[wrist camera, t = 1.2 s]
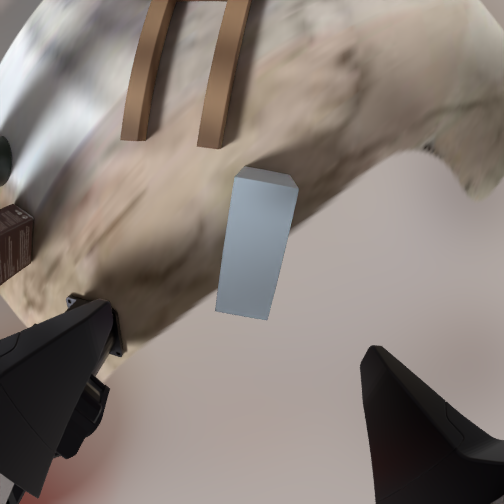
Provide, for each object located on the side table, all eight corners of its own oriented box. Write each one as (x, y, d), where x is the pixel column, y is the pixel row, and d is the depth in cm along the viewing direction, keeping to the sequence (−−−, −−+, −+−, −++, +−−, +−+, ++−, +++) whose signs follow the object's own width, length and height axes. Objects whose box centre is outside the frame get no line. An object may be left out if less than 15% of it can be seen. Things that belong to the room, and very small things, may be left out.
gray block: (267, 274, 22) (267, 320, 16) (227, 267, 22) (215, 310, 16) (289, 174, 19) (298, 188, 13) (244, 165, 19) (234, 176, 13)
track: (221, 148, 18) (209, 150, 14) (129, 139, 18) (101, 141, 14) (254, -8, 13) (251, -35, 9) (163, -8, 13) (145, -30, 9)
